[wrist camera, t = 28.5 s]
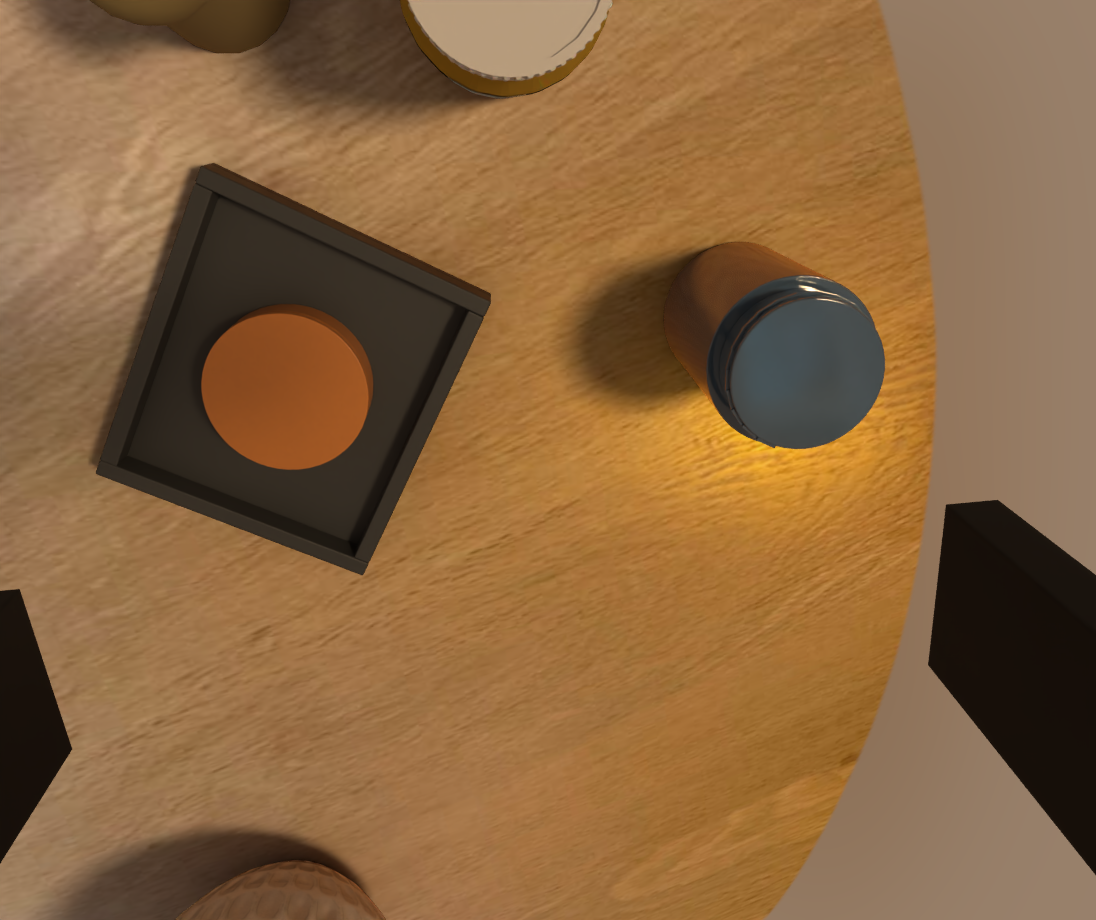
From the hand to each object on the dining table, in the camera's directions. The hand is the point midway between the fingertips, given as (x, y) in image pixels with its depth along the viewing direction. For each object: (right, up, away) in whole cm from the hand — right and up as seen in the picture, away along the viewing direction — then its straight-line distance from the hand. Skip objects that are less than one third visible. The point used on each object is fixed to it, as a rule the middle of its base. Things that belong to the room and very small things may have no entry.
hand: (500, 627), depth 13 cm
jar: (+10, +10, +31) cm, 34 cm away
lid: (-11, +6, +29) cm, 31 cm away
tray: (-12, +6, +31) cm, 33 cm away
